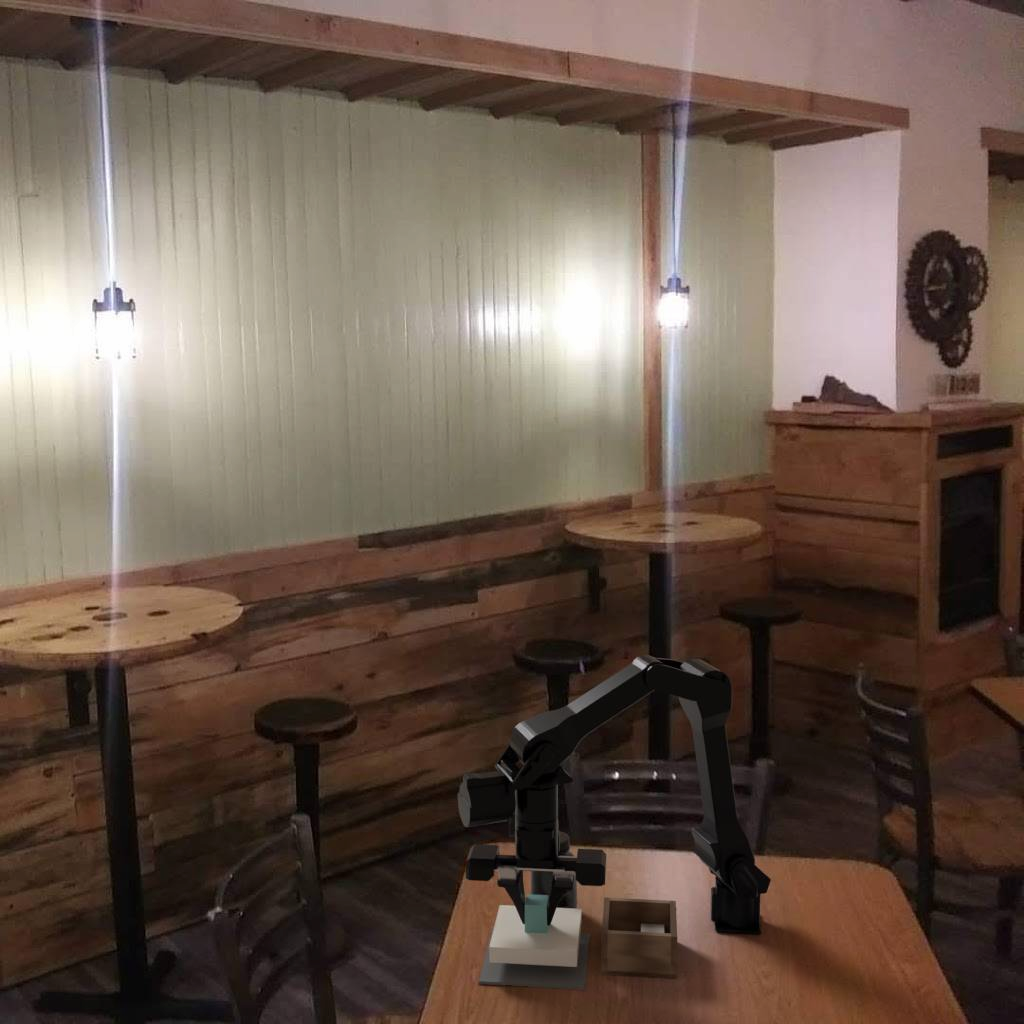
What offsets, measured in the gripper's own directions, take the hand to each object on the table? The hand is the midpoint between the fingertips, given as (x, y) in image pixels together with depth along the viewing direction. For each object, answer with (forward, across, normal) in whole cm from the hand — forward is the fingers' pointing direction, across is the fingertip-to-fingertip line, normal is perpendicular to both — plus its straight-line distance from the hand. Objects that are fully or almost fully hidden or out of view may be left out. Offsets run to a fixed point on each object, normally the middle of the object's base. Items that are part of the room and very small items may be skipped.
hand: (536, 923), depth 168 cm
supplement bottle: (+6, -1, -13) cm, 14 cm away
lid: (+3, 0, 0) cm, 3 cm away
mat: (+5, 0, 0) cm, 5 cm away
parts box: (+5, -14, -2) cm, 15 cm away
